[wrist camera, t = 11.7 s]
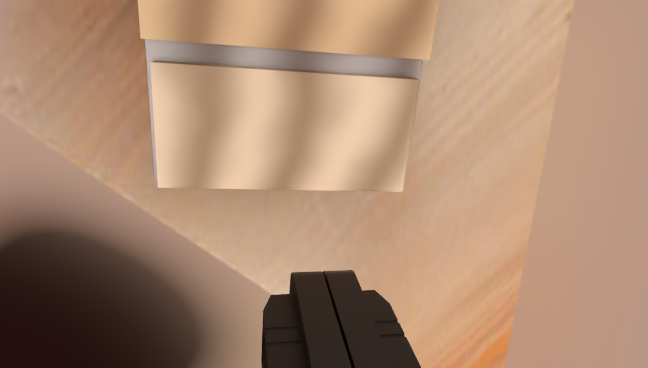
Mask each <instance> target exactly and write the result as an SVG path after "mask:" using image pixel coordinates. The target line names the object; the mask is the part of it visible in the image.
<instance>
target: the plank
mask: <svg viewBox="0 0 648 368" xmlns="http://www.w3.org/2000/svg"><path fill="white" fill-rule="evenodd" d="M150 66H151V83H152V99H153V115H154V132H155V148H156V164H157V181H158V188H203V189H266V190H330V191H393V192H403V186H404V179H405V173H406V167H407V160H408V154H409V148H410V141H411V135H412V129H413V123H414V116H415V110H416V104H417V97H418V91H419V85H420V80H419V79H416V78H410V77H395V76H380V75H365V74H350V73H335V72H320V71H305V70H290V69H275V68H260V67H245V66H230V65H215V64H200V63H185V62H170V61H155V60H154V61H152V62H150Z"/></svg>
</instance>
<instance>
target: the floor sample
mask: <svg viewBox="0 0 648 368" xmlns="http://www.w3.org/2000/svg"><path fill="white" fill-rule="evenodd" d="M439 4H440V0H138V10H139V24H140V38H141V39H145V45H146V60H147V74H148V89H149V103H150V118H151V133H152V147H153V162H154V176H155V183H158V181H157V164H156V148H155V132H154V115H153V99H152V83H151V66H150V62H152V61H154V60H155V61H170V62H185V63H200V64H215V65H230V66H245V67H260V68H275V69H290V70H305V71H320V72H335V73H350V74H365V75H380V76H395V77H410V78H416V79H419V80H420V76H421V70H422V64H423V60H430V56H431V51H432V45H433V39H434V33H435V27H436V22H437V16H438V10H439Z"/></svg>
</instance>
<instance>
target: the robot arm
mask: <svg viewBox="0 0 648 368" xmlns="http://www.w3.org/2000/svg"><path fill="white" fill-rule="evenodd" d="M262 368H421V366H420V364H419V362H418V360H417V358H416V356H415V354H414V352H413V350H412V348H411V346H410V344H409V342H408V340H407V338H406V337H404V332H403V330H402V328H401V326H400V324H399V323H398V321H397V318H396V316H395V314H394V311H393V309H392V307H391V305H390V303H388V302H387V301H386V300H385V299H384V298H383V297H382V296H381V295H380V294H378V293H377V292H376V291H375V290H366V291H362V289H361V287H360V285H359V282H358V280H357V278H356V275H355V273H354V271H352V270H346V271H323V272H293V273H291V279H290V293H289V294H281V295H271V296H270V298H269V300H268V302H267V304H266V306H265V308H264V310H263V332H262Z"/></svg>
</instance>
